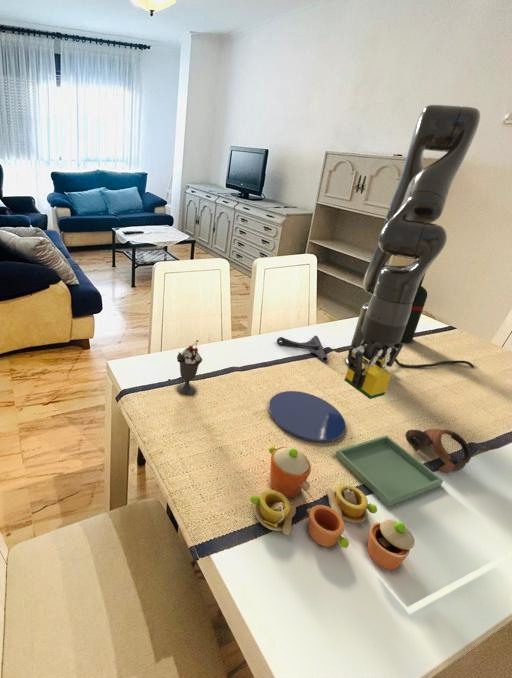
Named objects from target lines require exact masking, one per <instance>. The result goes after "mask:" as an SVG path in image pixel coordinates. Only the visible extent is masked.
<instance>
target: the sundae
mask: <svg viewBox="0 0 512 678" xmlns="http://www.w3.org/2000/svg"><path fill="white" fill-rule="evenodd" d="M199 341H200V340H199V339H198V340H197V339H196V340H195V342H194V344H195V347H194V344H192V345H189V346H188V347H185V349H184V350H182V352H179V351H178V354H177V356H176V360H177V362H178V363H179V372H180V376H181V378H182V379H183V380H184V381H185V382H184V383H182V384H179V385H178V386H177V389H176V390H177V392H178V393H179V394H181V396H188V397H189V396H192V395H194V394H195V393H196V388H195V387H194V386H193V385H192V384H190V381H192V380H194V379H195V378H196V375H197V373H198V369H199V365H200V364H201V363H202V362H203V358H202V356H201V354H200V353H199V352H198V351H199V348H198V347H197V346H198V345H197V344H198V342H199Z"/></svg>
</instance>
